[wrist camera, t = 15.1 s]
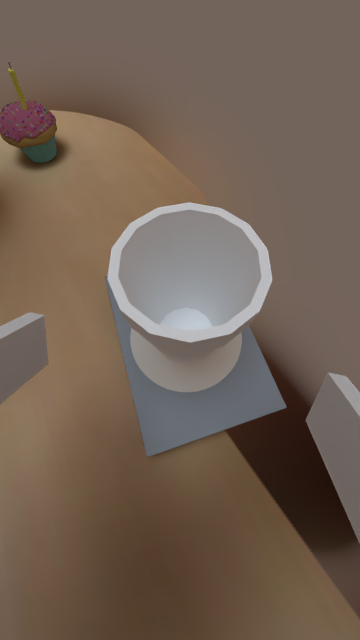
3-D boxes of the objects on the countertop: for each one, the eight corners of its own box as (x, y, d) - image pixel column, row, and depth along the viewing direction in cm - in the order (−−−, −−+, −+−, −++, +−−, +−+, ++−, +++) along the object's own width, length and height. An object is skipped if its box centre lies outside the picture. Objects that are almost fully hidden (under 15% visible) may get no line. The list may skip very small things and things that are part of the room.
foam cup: (207, 396, 24) (234, 373, 12) (125, 355, 25) (75, 297, 13) (241, 316, 27) (291, 233, 15) (167, 284, 28) (157, 185, 16)
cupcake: (73, 140, 43) (37, 45, 32) (58, 173, 40) (12, 80, 29) (28, 137, 44) (-24, 41, 33) (9, 169, 41) (-55, 75, 30)
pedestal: (111, 289, 32) (104, 275, 29) (210, 262, 34) (213, 246, 30) (150, 453, 25) (146, 457, 22) (275, 408, 26) (287, 407, 23)
